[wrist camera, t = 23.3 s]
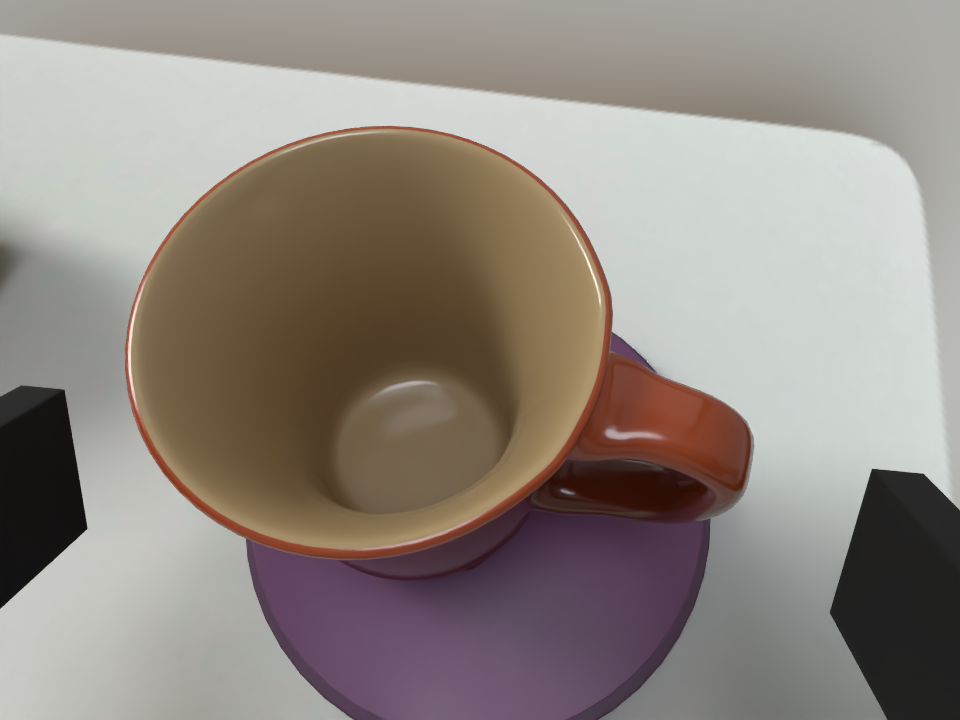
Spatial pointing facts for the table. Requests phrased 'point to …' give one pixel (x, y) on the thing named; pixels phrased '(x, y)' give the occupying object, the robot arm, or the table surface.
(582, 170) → the table surface
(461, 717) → the plum lid
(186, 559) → the table surface
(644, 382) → the mug
